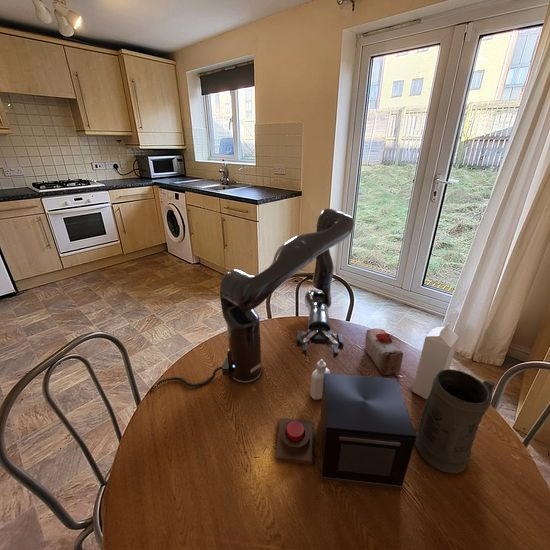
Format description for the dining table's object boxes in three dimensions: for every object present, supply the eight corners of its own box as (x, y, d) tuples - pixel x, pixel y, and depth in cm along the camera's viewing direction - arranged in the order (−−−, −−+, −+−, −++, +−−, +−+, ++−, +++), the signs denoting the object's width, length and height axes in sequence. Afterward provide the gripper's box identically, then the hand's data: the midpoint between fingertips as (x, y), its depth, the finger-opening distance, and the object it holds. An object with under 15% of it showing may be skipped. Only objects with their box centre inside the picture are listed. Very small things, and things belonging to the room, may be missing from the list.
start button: (285, 441, 66) (285, 435, 65) (287, 425, 70) (287, 420, 69) (303, 442, 66) (303, 437, 65) (304, 427, 69) (304, 422, 68)
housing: (275, 460, 65) (275, 451, 63) (280, 421, 74) (280, 412, 72) (311, 464, 64) (312, 455, 62) (312, 424, 73) (312, 415, 71)
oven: (321, 481, 61) (326, 428, 54) (320, 421, 73) (323, 373, 67) (401, 490, 59) (417, 437, 52) (385, 427, 72) (396, 378, 65)
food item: (360, 347, 99) (363, 323, 95) (382, 345, 100) (386, 321, 96) (379, 376, 87) (384, 350, 83) (404, 373, 88) (410, 347, 84)
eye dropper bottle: (331, 398, 80) (334, 364, 75) (311, 401, 79) (313, 367, 74) (326, 386, 84) (329, 353, 79) (307, 389, 83) (309, 355, 78)
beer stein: (444, 485, 60) (476, 413, 52) (402, 441, 68) (423, 374, 60) (486, 454, 66) (520, 387, 59) (443, 418, 75) (467, 355, 67)
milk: (442, 392, 82) (463, 326, 72) (433, 404, 78) (454, 336, 69) (420, 380, 86) (437, 316, 76) (411, 391, 82) (428, 325, 73)
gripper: (298, 312, 99) (296, 342, 85) (340, 315, 98) (346, 345, 83) (298, 331, 103) (295, 362, 88) (339, 333, 101) (343, 366, 86)
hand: (320, 354), depth 86 cm, fingers open, 8 cm apart
